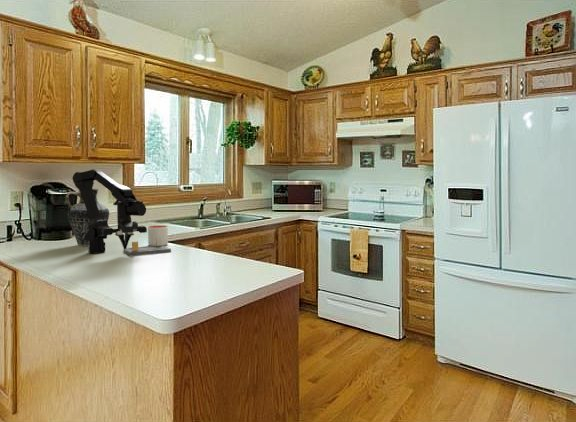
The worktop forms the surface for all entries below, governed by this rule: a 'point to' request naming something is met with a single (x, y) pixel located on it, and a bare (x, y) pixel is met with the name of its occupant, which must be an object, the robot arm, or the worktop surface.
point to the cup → (157, 234)
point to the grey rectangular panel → (147, 250)
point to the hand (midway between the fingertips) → (125, 248)
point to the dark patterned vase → (82, 216)
